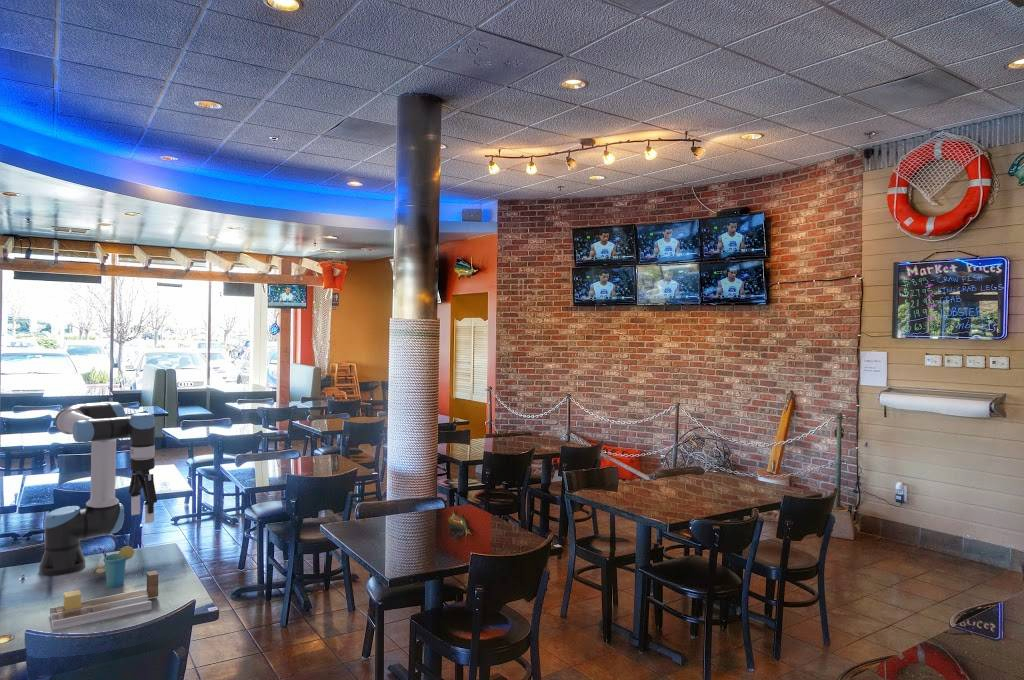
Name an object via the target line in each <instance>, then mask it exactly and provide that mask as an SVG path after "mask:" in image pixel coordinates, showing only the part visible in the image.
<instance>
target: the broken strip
mask: <svg viewBox="0 0 1024 680" xmlns="http://www.w3.org/2000/svg"><path fill="white" fill-rule="evenodd" d="M108 609H110V606H109V604H107V605H102V606H97V607H92V608H91V613H93V612H98V611H103V610H108ZM83 614H88V613H87V610H86V609H82V610H77V611H72V612H67V613H62V614H57V620H59V619H64V618H69V617H74V616H79V615H83Z"/></svg>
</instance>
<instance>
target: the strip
mask: <svg viewBox="0 0 1024 680" xmlns="http://www.w3.org/2000/svg"><path fill="white" fill-rule="evenodd" d="M143 595H148V599H152V598H157V597H159V573H158V571H157V570H150V571H147V572H146V589H145V590H144V591H139V592H134V593H129V594H124V595H119V596H114V597H109V598H104V599H99V600H94V601H88V602H83V603H81V608H84V607H89V606H94V605H99V604H104V603H109V602H114V601H119V600H124V599H129V598H134V597H139V596H143ZM77 609H79V608H77ZM72 610H74V609H72ZM64 611H65V609H64V606H63V607H58V608H56V613H59V612H64ZM67 611H69V610H67Z"/></svg>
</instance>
